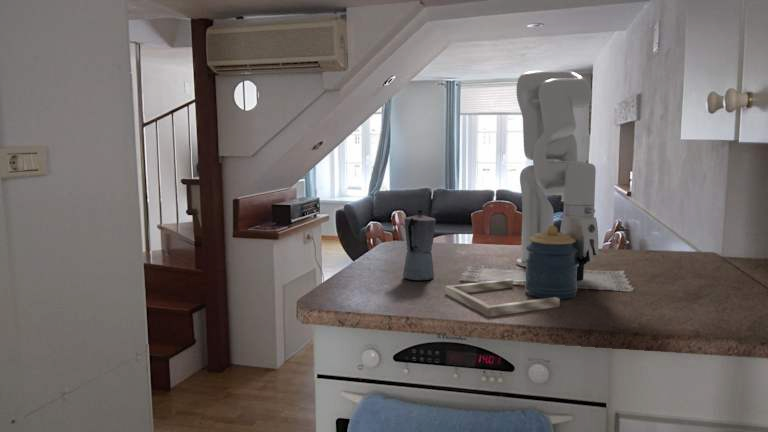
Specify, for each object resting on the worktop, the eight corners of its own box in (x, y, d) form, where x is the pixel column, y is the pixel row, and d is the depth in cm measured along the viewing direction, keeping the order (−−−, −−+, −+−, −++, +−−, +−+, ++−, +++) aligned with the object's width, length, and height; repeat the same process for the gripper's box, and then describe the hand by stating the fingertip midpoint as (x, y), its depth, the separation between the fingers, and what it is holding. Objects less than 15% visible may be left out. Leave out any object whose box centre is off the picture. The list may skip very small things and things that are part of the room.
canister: (514, 290, 148) (515, 224, 145) (553, 284, 153) (555, 220, 151) (547, 302, 136) (549, 231, 134) (588, 296, 141) (591, 227, 139)
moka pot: (441, 273, 167) (441, 207, 165) (428, 286, 153) (428, 213, 150) (410, 271, 170) (410, 206, 168) (394, 283, 156) (394, 212, 153)
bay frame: (509, 286, 152) (509, 278, 152) (559, 306, 133) (559, 298, 132) (445, 293, 145) (445, 286, 145) (488, 316, 126) (488, 307, 126)
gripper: (611, 213, 139) (608, 285, 141) (570, 207, 153) (568, 273, 155) (587, 215, 136) (584, 288, 139) (548, 208, 150) (546, 275, 152)
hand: (576, 280), depth 147 cm, fingers closed
